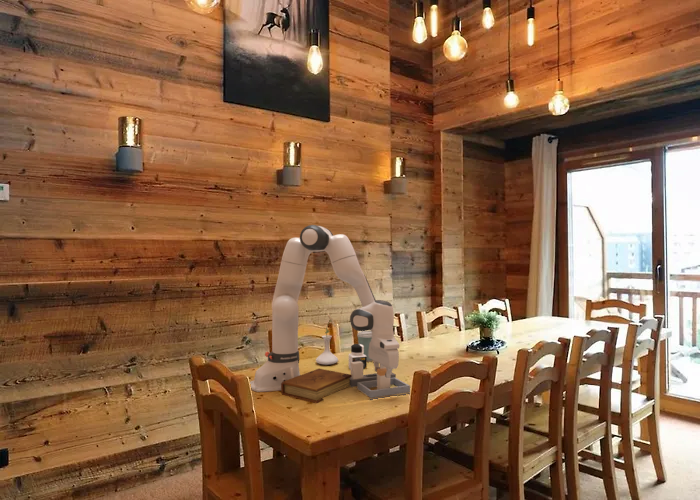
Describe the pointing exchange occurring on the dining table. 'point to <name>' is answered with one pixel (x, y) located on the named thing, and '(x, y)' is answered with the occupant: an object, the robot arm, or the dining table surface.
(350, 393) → the dining table surface
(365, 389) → the tray
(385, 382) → the marked fuse
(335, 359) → the flower in vase
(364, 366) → the medicine bottle
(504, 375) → the dining table surface
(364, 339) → the disposable coffee cup
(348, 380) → the diary
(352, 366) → the block
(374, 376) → the fuse block
